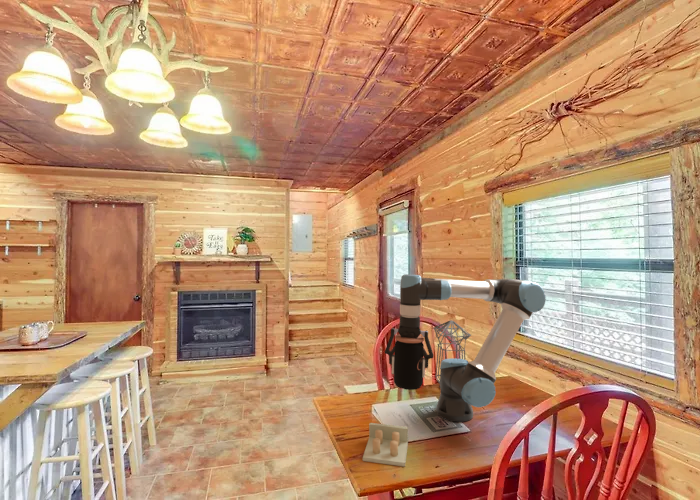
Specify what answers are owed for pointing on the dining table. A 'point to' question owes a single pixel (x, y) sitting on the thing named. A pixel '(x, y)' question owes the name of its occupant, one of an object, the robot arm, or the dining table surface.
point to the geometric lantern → (450, 340)
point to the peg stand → (387, 444)
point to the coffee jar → (408, 362)
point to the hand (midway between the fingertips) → (408, 374)
